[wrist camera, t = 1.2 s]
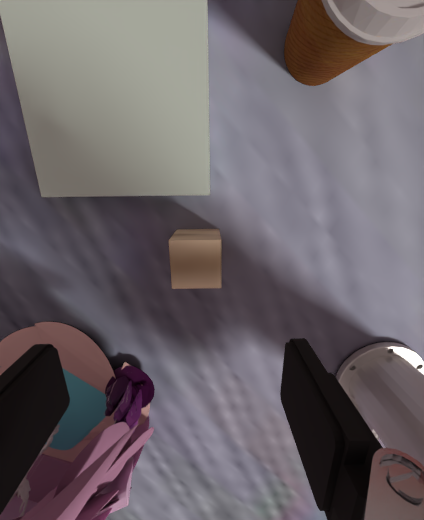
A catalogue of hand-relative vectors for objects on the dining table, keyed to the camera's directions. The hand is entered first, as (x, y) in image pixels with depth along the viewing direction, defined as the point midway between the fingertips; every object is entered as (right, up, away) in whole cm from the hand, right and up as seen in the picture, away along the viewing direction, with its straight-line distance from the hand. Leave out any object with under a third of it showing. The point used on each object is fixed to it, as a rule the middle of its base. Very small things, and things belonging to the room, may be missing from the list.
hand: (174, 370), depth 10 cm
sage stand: (-7, +20, +14) cm, 26 cm away
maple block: (0, +6, +19) cm, 20 cm away
